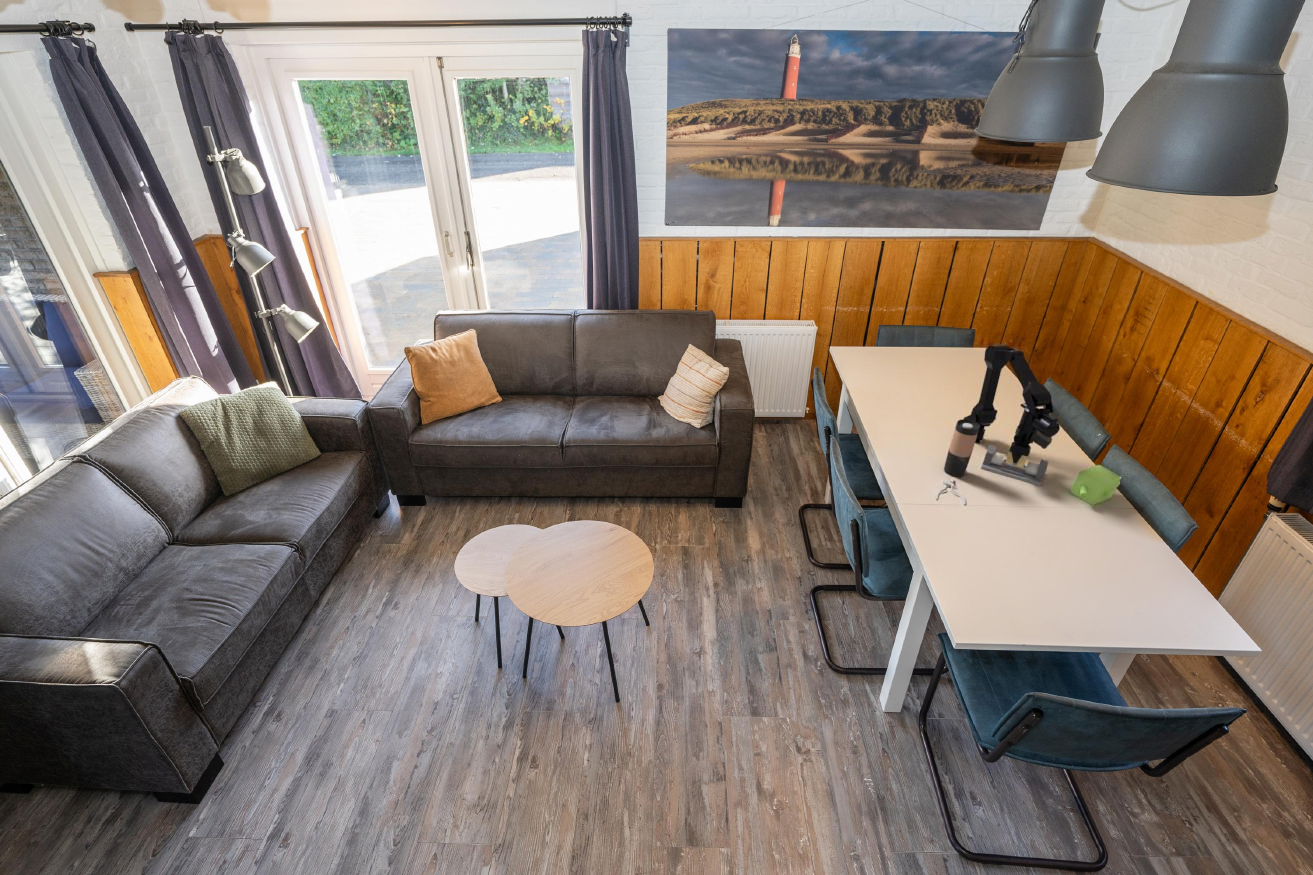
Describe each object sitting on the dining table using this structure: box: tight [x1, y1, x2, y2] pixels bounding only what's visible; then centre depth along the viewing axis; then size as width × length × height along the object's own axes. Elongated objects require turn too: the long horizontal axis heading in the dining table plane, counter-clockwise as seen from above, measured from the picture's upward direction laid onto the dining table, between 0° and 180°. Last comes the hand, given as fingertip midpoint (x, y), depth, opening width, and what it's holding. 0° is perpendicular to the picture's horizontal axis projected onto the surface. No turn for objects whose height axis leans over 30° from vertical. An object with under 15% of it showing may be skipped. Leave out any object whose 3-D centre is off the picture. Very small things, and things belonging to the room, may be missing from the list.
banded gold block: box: [1005, 450, 1028, 468], centre depth 242 cm, size 6×5×6 cm
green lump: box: [1069, 464, 1122, 506], centre depth 230 cm, size 18×10×10 cm, turn 116°
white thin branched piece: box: [934, 475, 966, 506], centre depth 233 cm, size 10×2×15 cm
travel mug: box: [943, 418, 980, 478], centre depth 239 cm, size 8×8×20 cm
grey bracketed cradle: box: [980, 444, 1049, 487], centre depth 244 cm, size 20×10×6 cm, turn 58°
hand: (1015, 460), depth 243 cm, fingers closed on banded gold block, 5 cm apart
